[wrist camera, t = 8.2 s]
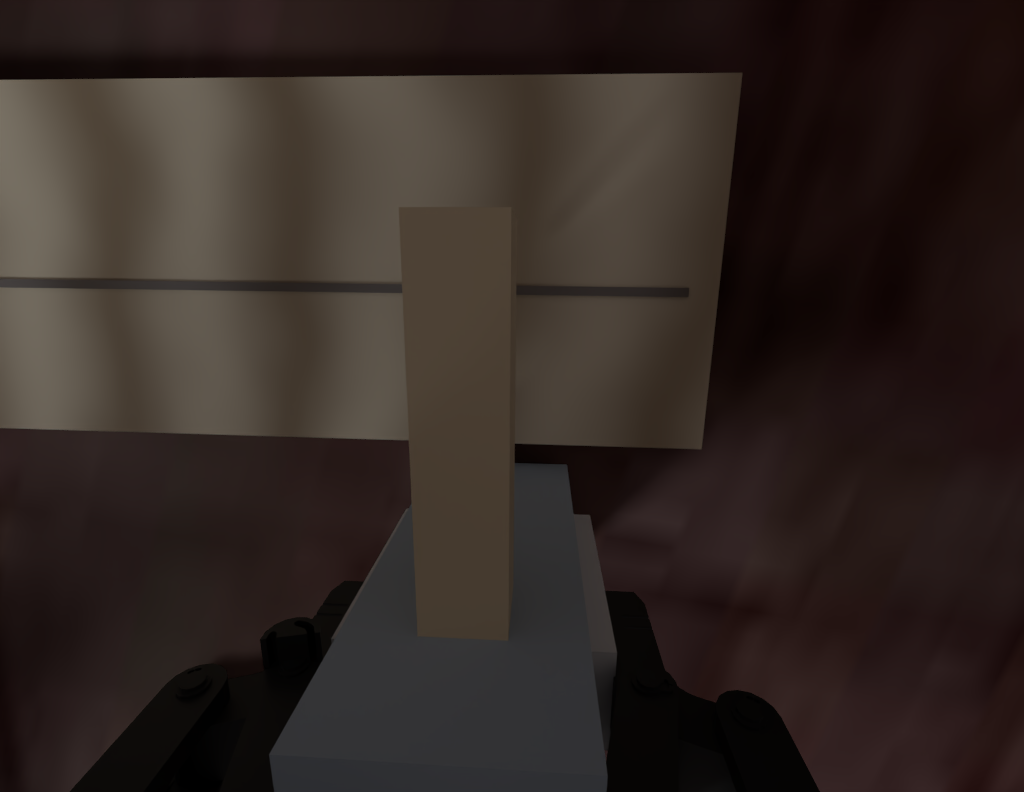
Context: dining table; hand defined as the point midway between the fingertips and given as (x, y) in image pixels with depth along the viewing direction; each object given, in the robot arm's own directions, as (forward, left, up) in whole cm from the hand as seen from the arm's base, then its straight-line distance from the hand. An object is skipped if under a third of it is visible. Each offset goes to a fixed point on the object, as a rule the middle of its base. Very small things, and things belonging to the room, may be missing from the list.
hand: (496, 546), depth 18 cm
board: (-8, +9, -3) cm, 13 cm away
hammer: (0, +4, -2) cm, 4 cm away
